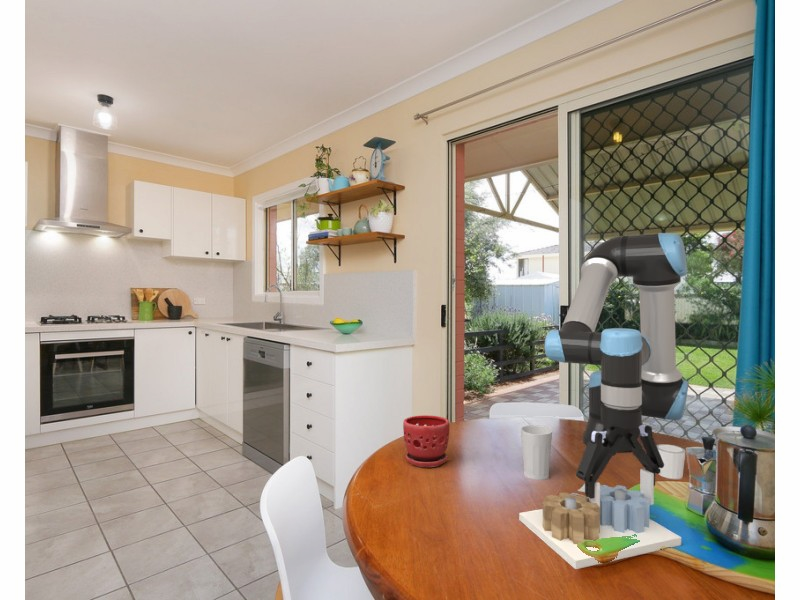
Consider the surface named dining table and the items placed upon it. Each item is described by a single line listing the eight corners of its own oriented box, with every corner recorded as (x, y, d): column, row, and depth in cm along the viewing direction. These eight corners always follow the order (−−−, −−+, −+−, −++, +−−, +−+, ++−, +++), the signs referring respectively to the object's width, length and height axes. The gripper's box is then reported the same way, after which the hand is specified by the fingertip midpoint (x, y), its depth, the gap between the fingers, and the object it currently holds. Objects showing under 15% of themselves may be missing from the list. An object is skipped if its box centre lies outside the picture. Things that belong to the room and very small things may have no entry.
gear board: (611, 503, 105) (611, 470, 105) (681, 545, 88) (681, 506, 88) (519, 519, 98) (519, 485, 97) (575, 569, 81) (575, 527, 80)
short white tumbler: (651, 475, 120) (652, 448, 120) (658, 467, 125) (659, 441, 125) (682, 482, 115) (682, 455, 115) (688, 474, 120) (688, 447, 120)
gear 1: (560, 511, 98) (561, 488, 98) (609, 530, 90) (609, 505, 90) (532, 528, 92) (532, 503, 91) (582, 551, 83) (582, 523, 83)
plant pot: (457, 466, 127) (457, 423, 127) (413, 473, 123) (413, 429, 122) (437, 450, 139) (437, 411, 139) (397, 456, 135) (396, 416, 134)
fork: (607, 471, 123) (607, 465, 123) (579, 506, 104) (579, 498, 104) (595, 469, 125) (595, 462, 125) (565, 502, 106) (565, 494, 106)
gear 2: (621, 504, 101) (621, 481, 101) (661, 528, 91) (661, 503, 91) (581, 511, 98) (581, 488, 98) (618, 537, 88) (618, 511, 88)
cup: (554, 482, 116) (554, 435, 116) (521, 480, 118) (521, 433, 117) (550, 470, 124) (550, 425, 124) (519, 467, 126) (519, 424, 125)
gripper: (653, 394, 101) (653, 489, 102) (557, 406, 94) (557, 508, 95) (684, 403, 94) (683, 505, 95) (582, 416, 87) (582, 526, 87)
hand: (620, 507), depth 95 cm, fingers open, 13 cm apart
